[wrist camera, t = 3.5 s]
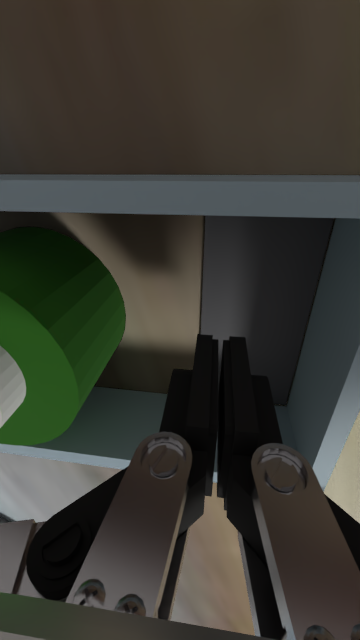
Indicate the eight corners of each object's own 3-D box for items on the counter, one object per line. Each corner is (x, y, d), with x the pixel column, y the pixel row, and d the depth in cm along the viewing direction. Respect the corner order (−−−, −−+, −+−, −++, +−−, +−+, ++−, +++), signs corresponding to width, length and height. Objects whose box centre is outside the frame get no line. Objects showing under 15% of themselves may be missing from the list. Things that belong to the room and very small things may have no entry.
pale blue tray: (370, 175, 10) (461, 182, 6) (298, 417, 16) (320, 497, 12) (-105, 174, 13) (-253, 178, 9) (-11, 384, 19) (-72, 441, 15)
